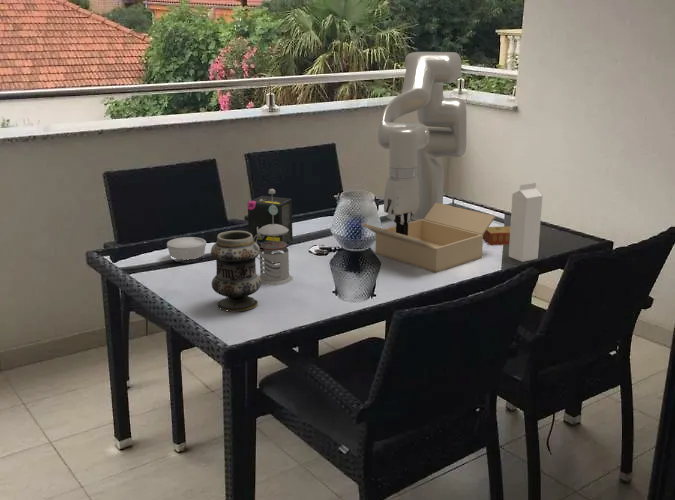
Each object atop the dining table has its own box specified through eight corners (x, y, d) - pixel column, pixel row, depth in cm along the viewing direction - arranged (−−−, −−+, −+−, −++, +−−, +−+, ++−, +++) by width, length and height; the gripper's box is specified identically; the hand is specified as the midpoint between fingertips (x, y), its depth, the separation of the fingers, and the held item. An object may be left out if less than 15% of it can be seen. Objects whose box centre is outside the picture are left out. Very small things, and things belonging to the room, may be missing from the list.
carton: (481, 239, 241) (482, 226, 240) (530, 237, 242) (531, 224, 241) (489, 246, 233) (490, 233, 232) (540, 244, 235) (541, 231, 233)
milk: (537, 259, 220) (544, 184, 213) (522, 262, 217) (527, 187, 210) (523, 253, 225) (528, 180, 218) (507, 256, 222) (512, 183, 215)
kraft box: (375, 253, 226) (375, 231, 224) (421, 240, 238) (421, 219, 236) (435, 272, 208) (436, 248, 206) (481, 257, 221) (483, 234, 219)
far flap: (435, 202, 238) (436, 203, 238) (423, 219, 236) (424, 220, 236) (494, 215, 221) (495, 217, 222) (482, 233, 219) (483, 235, 220)
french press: (278, 287, 198) (275, 194, 191) (244, 280, 204) (239, 189, 197) (300, 276, 206) (298, 187, 199) (266, 270, 212) (262, 182, 205)
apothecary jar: (271, 306, 185) (268, 236, 180) (227, 317, 179) (223, 244, 173) (247, 292, 195) (244, 225, 189) (204, 302, 188) (200, 233, 183)
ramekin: (214, 258, 223) (213, 241, 221) (183, 267, 215) (182, 250, 213) (191, 251, 230) (190, 234, 229) (160, 259, 222) (159, 242, 221)
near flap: (420, 239, 202) (419, 241, 202) (434, 248, 206) (433, 250, 206) (361, 222, 218) (360, 224, 218) (376, 231, 223) (375, 233, 223)
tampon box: (248, 248, 232) (246, 201, 228) (262, 240, 241) (260, 195, 236) (280, 251, 228) (278, 204, 224) (293, 243, 237) (292, 197, 232)
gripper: (411, 166, 215) (410, 228, 221) (373, 174, 206) (373, 239, 212) (431, 170, 210) (429, 233, 216) (393, 179, 201) (392, 244, 206)
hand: (401, 236), depth 214 cm, fingers closed
